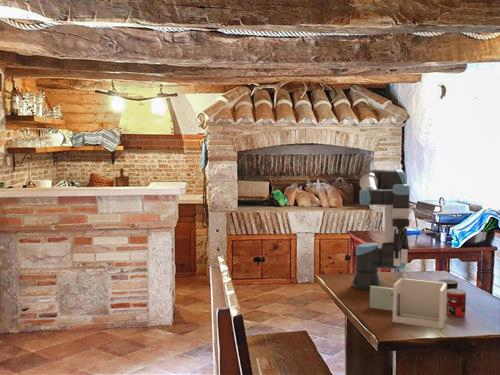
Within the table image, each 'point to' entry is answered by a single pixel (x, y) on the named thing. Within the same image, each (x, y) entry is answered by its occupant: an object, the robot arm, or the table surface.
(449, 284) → the coffee mug
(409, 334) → the table surface
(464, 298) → the canned food
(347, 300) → the table surface
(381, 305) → the door
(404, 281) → the cabinet
